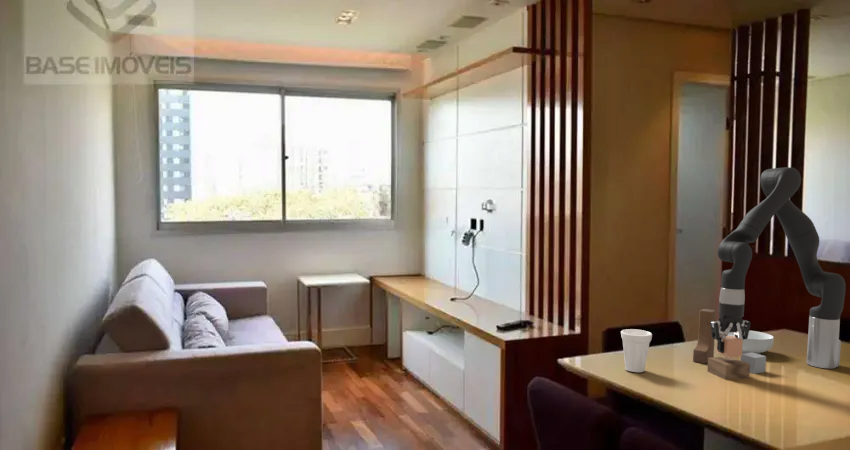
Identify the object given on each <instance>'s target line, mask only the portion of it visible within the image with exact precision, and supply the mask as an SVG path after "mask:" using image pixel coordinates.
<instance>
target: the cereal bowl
mask: <svg viewBox="0 0 850 450" xmlns="http://www.w3.org/2000/svg"><path fill="white" fill-rule="evenodd" d="M744 333H745V332H744ZM728 336H734V334H733V333H732V332H730V333H729V334H728ZM774 341H775V337H774V336H773V335H771V334H769V333H766V332H761V331H756V330H749V334H748V338H747V339H744V340H743V345H742V354H744V353H750V352H752V353H756V354H759V355H761V353H765V352H767V351H769V350H770V349H772V348H773V346H774Z"/></svg>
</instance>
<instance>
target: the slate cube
mask: <svg viewBox="0 0 850 450" xmlns="http://www.w3.org/2000/svg"><path fill="white" fill-rule="evenodd" d="M740 360H741V361H743V362H746V363H748V364H750V372H749V374H754V375H755V374H762V373H766V365H767V356H766V355H762V354H756V353H752V352H750V353H744V354H742V356H740Z"/></svg>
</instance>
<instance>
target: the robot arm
mask: <svg viewBox="0 0 850 450" xmlns="http://www.w3.org/2000/svg"><path fill="white" fill-rule="evenodd" d="M801 176H802V175H801V173H800V171H798V169H796V167H795V168H794V167H788V166H787V167H786V166H785V167H777V168H776V167H774V168H768V169H765V170H764V171H763V172H762V173H761V175H760V178H759V179H760V182H759V183H760V186H761V189H762V191H763V193H764V195H765V197H766V198H765V199H764V200H762V201H760V203H758V204H756V206H754V207H753V208H751V209H750V210H749V211H748V212H747V213H746V214H745V215H744V217H743V218H742V220H741V221H740V223H739V224H738V226H737V228H736V229H734V230H733V231H732V232H730V234H728V235H727V236H726V237H725V238H724V239H722V241H721V242H720V243H719V246H718V247H717V252H716V253H717V256H718V258H719V259H720V260H721V261H722V262H725V263H726V262H727V263H731V264H732V263H733V265H732V267H731V269H725V270H723V271H722V273H721V279H720V292H719V299H718V301H719V303H718V315H719V318H718V320H715V322H714V321H711V322H710V325H711V334H712V338H713V339H715V340H716V348H717V350H718V352H720V353H724V344H725V342H724V340H725V338H726V336H728V334H729V333H730V332H732V333H733V334H734V337H737V338H739V339H742V340H744V339H747V338H748V334H749V331H750V330H751V329H750V328H751V325H752V323H751V321H748V320H747V319H746V320H745V319H743V317H744V316H745V315H744V313H745V300H746V297H745V296H746V295H745V293H746V292H745V285H746V284H745V283H746V276H747V273H748V270H749V267H750V264H751V262H752V258H753V249H752V247H751V246H750V244H751V243H754V242H756V241H757V239H758V238H759V237H760V235H761V234H762V232H763V231H764V229H765V228H766V226H767V225H768V223H769V222H770V221H771V219H772V218H773V217H774V216H775V215H776V217H777V219H778V220H779V223H780V225H781V226H782V229H783V232H784V234H785V236H786V239H787V241H788V243H789V246H790V247H791V250H792V251H793V254H794V256H795V259H796V261H797V263H798V266H799V269H800V273H801V275H802V278H803V282H804V285H805V288H806V290H807V292H808V293H809V294H810V295H812V296H814V297H818V298H821V301H820V304H819V305H817V306H813V307H810V309H809V315H808V316H809V317H808V330H807V331H808V333H807V348H806V349H807V350H806V364H807V365H808V366H812V367H815V368H822V369H837V368H839V367H840V361H841V360H840V359H841V347H842V346H841V344H842V341H841V339H839V338H840V324H841V322H840V321H841V315H842V313H843V310H844V305H845V299H846V297H845V296H846V288H847V287H846V281H845V278H844V276H842V275H841V274H839V273H835V272H828V271H824V270H823V268H822V267H821V264H820V263H819V259H818V251H819V246H820V236H819V234H818V231H817V229H816V226H815V224H814V222H813V221H812V219H811V218H810V217H809V215H807V214H806V213H805V212H803V210H801V209H800V208H799V207H798V206H796V205H795V204H794V203H793V202H792V200H791V198H792V197H793V196H794V195H795V193H796V192H797V191H798V190H799V188H800V186H801V184H802V177H801ZM744 332H745V333H744ZM838 366H839V367H838ZM836 367H837V368H836Z"/></svg>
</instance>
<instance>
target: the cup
mask: <svg viewBox="0 0 850 450" xmlns="http://www.w3.org/2000/svg"><path fill="white" fill-rule="evenodd" d="M620 335H621V336H620V337H621V339H622V347H623V348H622V349H623V358H624V369H625V370H626V371H628V372H633V373H644V372H645V369H646V363H647V358H648V352H649V348H650V347H649V346H650V344H651V341H652V338H653V334H652V332H650V331H648V330H647V331H646V330H644V329H643V330H642V329H636V328H635V329H634V328H630V329H629V328H628V329H627V328H626V329H622V330H621V331H620Z"/></svg>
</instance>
